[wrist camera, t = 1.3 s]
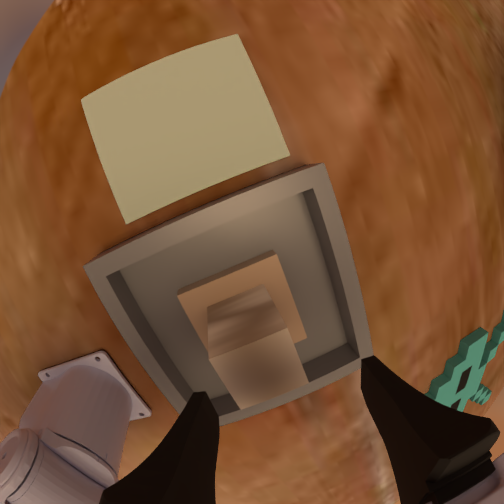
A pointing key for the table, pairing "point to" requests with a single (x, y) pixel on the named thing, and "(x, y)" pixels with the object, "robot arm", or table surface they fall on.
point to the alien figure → (467, 370)
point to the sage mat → (182, 126)
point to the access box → (239, 286)
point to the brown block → (252, 348)
